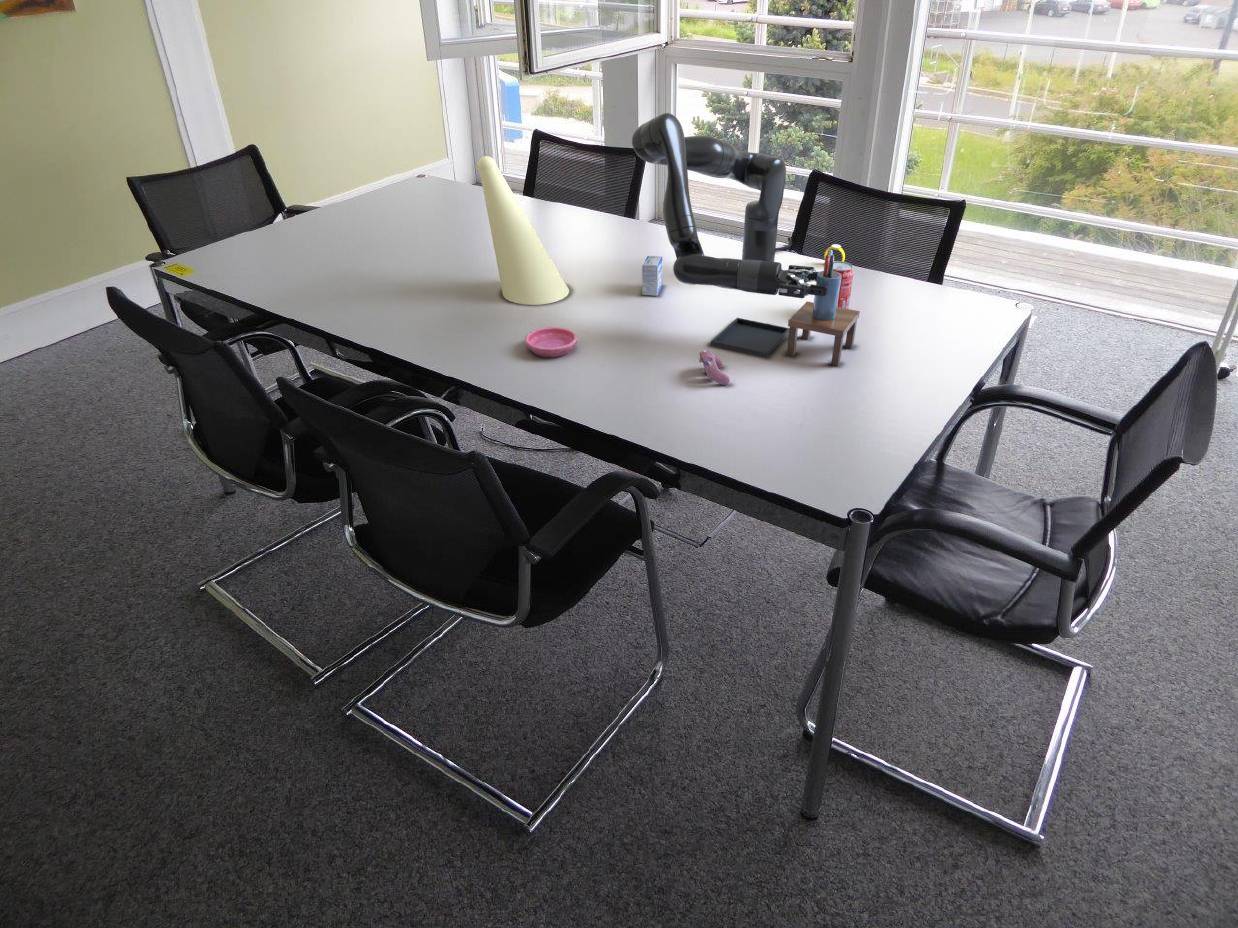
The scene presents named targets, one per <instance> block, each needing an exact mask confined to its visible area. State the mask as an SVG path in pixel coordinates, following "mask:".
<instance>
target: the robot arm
mask: <svg viewBox="0 0 1238 928" xmlns="http://www.w3.org/2000/svg"><path fill="white" fill-rule="evenodd" d="M631 146H632V148H633V151H634V152H635V154H636V156H638V157H639V158H640V159H641V160H642V161H644V162H646V163H649V164H653V165H661V166H667V177H666V187H665V192H664V197H663V202H662V217H663V222H664V227H665V230H666V234H667V238H668V241H669V244H670V245H671V247H672V248H673V250H674V255H675V257H676V259H675V260H674V261H673V262H674V263H673V266H672V272H673V275H674V277H675V279H676V280H677V281H679V282H680V283H682V284H685V285H691V286H695V285H696V286H697V285H698V286H699V285H700V286H713V287H717V288H721V289H726V290H735V291H741V292H745V293H751V294H759V295H760V294H762V295H769V296H776V295H778V296H780V297H781V296H783V297H790V298H795V299H805V298H806V297H808V296H815V295H817V296H825V295H826V293H827V287H826V286H822V285H816V284H811V282H815V283H816V280H817V273H818V272H819V271H817V270H816V269H815V267H814V266H809V265H808V266H807V265H794V264H789V265H788V268H787V269H783V268H782V267H783V266H782V263H781V262H778V261H775V258H776V252H778V251H779V252H781V251H785V250H787V249H790V248H791V247H792V245H793V241H792V240H793V239H792V238H791V237H790V236H789V237H787V242H788V244H787V245H785V246H779V247H777V246H776V245H777V236H778V225H779V216H780V215H779V214H780V210H781V208H782V204H783V199H784V193H785V185H786V178H787V167H786V166H787V165H786V163H785V161H784V160H783V159H782V158H781V157H777V156H773V155H771V154H766V153H760V152H752V151H751V152H749V151H745V150H744V151H743V150H739V149H736V147H735V146H734V144H732V143H730V142H728V141H726V140H724V139H721V138H718V137H715V136H710V135H691V136H685V134H684V129H683V126H682V123H681V122H680V120H679V118H678V117H677V116H675V115H674V114H673V113H671V112H663V113H661V114H659V115H657V116H655V117H653V118H651V119H650V120H647V121H646V122H644V123H642V124H640V125H639V126H638V127H637V128H636V129H635V130H634V131H633V133H632V137H631ZM688 171H691V172H694V173H698V174H701V175H703V176H707V177H711V178H714V179H732V180H734V181H736V182H738V183H740V184H742V185H744V186H746V187H748V188H750V189H753V190H757V191H760V193H759V197H758V198H759V199H758V200H753V201H750V202H748V203H747V204H746V205H745V209H744V223H743V236H742V237H743V238H742V250H741V251H742V252H741V259H738V258H730V257H714V256H708V255H705V253H704V250H703V247H702V244H701V242H700V239H699V236H698V235H699V234H698V230H697V225H696V220H695V217H694V213H693V208H692V203H691V197H690V189H689V174H688V173H689V172H688ZM809 283H810V284H809Z"/></svg>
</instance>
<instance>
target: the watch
mask: <svg viewBox="0 0 1238 928" xmlns="http://www.w3.org/2000/svg"><path fill="white" fill-rule="evenodd" d="M829 250H835V251H839V252H840V254H841V261H842V262H845V260H846V253H845V250H844V249H843V248H842V245H840V244H835V243H834V244H832V245H830V246H829V247H827V249H826V250H825V251H824V255H823V258H824V260H825V257H826V255H828V252H829Z"/></svg>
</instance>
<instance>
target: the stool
mask: <svg viewBox="0 0 1238 928" xmlns="http://www.w3.org/2000/svg"><path fill="white" fill-rule="evenodd" d="M813 305H814V301H807V300H806V302H804V303H803V305H802V306H800V308H799V309H798V310H797V311H796V312H795V313H794V314H793V315H792V316H791V317H790V318H789V319H788V322H787V327H788V328H789V334H788V336H787V346H786V356H788V357H792V358H793V357H795V355H796V350H797V349H796V348H797V340H798V332H799V330H802V331H801V339H802V340H806V341H807V340H809V339H810V338H811V332H816V333H820V334H825V335H830V336H834V341H833V348H832V353H831V354H832V355H831V362H830V365H831V366H835V367H839V366H840V364H841V357H842V351H843V343H844V337H845V343H844V348H846V349H851V350H852V348H853V347H854V343H855V337H856V329H857V323H858V319H859V318H860V314H861V311H860V310H855V309H850V308H849V309H845V308H840V307H837V313H836V318H835V319H832V320H819V319H816V318H814V317H813V316H812V313H813ZM845 335H846V336H845Z"/></svg>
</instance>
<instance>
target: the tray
mask: <svg viewBox="0 0 1238 928" xmlns="http://www.w3.org/2000/svg"><path fill="white" fill-rule="evenodd" d="M788 336H789V327H786V326H780V325H776V324H771V323H766V322H761V321H755V320H751V319H745V318H741V317H736V318H735V319H734V320H733V321H732V322H731V323H729V324H728V325H727V327H725V328H724V329H723V330H722V331H721V332H720V333H718V335H716V336H715V337H714V338H713V339H712V340H711V341H710V342H711V343H710V346H712V347H716V348H720V349H725V350H731V351H735V352H738V353H743V354H747V355H752V356H758V357H762V358H768V357H769V356H770V355H771V354H772V352H773V351H774V350H776V348H777V347H778V346H779V345H780V344H781V343H782V342H783V341H784V340H785V338H786V337H788Z"/></svg>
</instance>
